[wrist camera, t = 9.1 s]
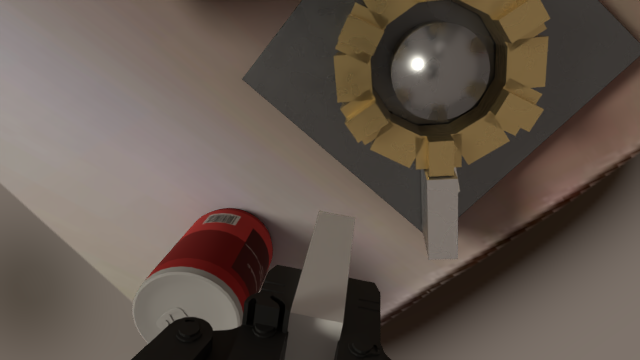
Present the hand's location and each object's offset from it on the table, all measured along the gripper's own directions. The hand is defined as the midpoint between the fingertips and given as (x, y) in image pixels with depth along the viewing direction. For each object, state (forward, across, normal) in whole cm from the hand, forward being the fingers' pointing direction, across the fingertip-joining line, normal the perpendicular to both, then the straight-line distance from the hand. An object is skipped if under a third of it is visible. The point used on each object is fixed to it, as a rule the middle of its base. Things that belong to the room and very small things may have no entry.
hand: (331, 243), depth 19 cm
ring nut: (+17, +5, +3) cm, 18 cm away
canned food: (+19, -9, -13) cm, 25 cm away
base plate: (+19, +5, +6) cm, 20 cm away
